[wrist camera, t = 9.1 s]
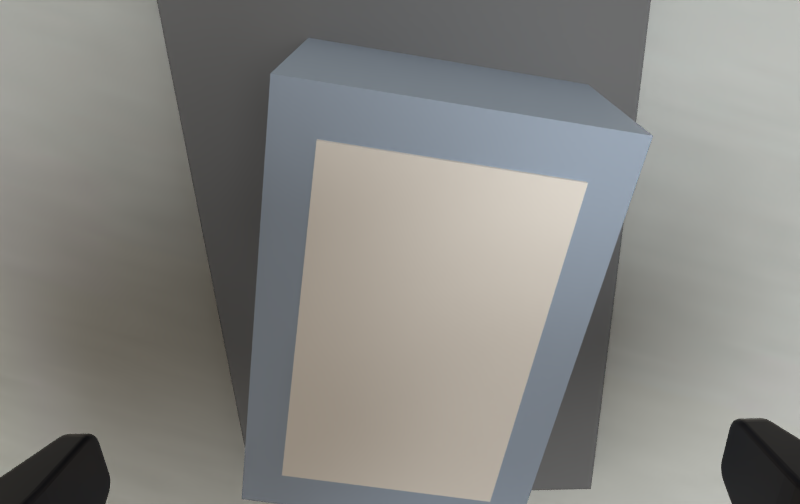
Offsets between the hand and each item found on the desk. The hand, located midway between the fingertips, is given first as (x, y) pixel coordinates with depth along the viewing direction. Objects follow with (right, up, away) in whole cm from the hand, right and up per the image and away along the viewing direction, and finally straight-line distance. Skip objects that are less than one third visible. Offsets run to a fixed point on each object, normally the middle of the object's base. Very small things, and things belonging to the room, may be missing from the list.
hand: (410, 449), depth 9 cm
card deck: (0, +3, +6) cm, 7 cm away
